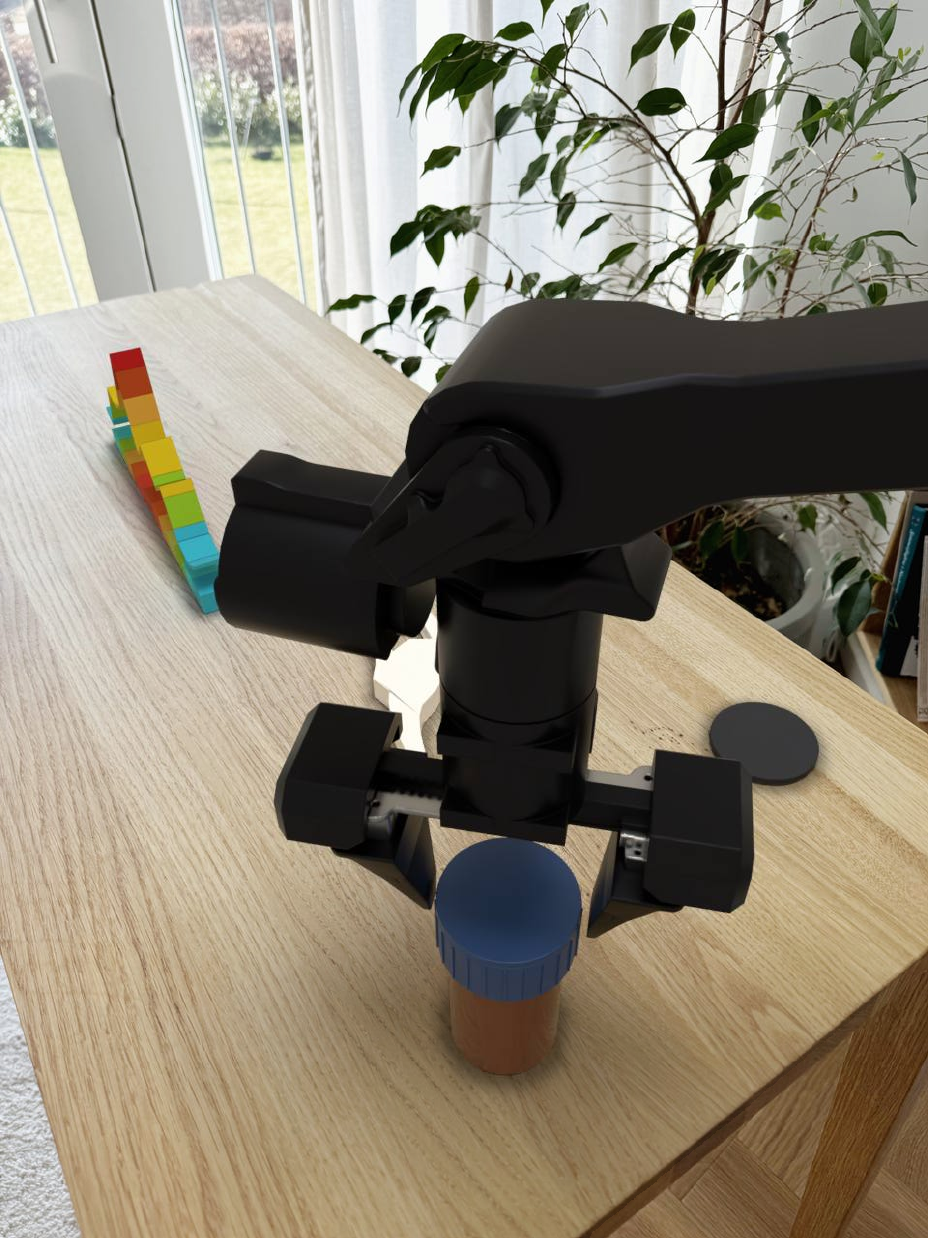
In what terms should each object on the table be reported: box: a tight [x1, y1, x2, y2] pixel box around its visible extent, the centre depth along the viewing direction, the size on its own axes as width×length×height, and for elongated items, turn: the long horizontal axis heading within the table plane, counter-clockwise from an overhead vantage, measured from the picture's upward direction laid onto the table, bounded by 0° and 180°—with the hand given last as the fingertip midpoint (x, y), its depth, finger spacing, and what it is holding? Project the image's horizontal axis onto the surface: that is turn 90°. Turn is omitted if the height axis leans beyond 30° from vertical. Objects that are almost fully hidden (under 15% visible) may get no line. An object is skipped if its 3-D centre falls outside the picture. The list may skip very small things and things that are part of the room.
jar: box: [448, 972, 563, 1075], centre depth 48 cm, size 6×6×11 cm
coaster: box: [708, 701, 820, 786], centre depth 66 cm, size 7×7×1 cm
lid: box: [433, 836, 584, 1002], centre depth 45 cm, size 7×7×3 cm
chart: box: [105, 347, 220, 615], centre depth 84 cm, size 30×3×15 cm, turn 28°
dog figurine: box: [372, 612, 440, 752], centre depth 70 cm, size 2×13×20 cm
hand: (509, 914), depth 45 cm, fingers open, 7 cm apart
